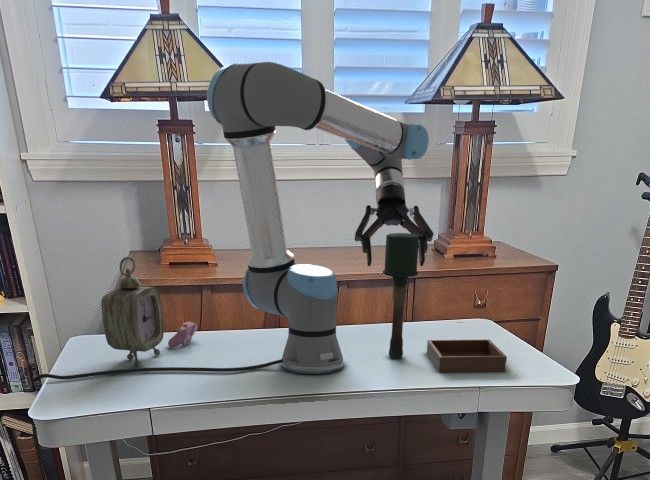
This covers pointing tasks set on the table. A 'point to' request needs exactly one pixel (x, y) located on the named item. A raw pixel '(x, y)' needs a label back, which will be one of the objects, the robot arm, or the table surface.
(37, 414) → the table surface
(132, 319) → the tabletop clock
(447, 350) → the holder
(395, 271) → the potato masher grenade
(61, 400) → the table surface
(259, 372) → the table surface
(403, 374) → the table surface
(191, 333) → the pink toy shoe
